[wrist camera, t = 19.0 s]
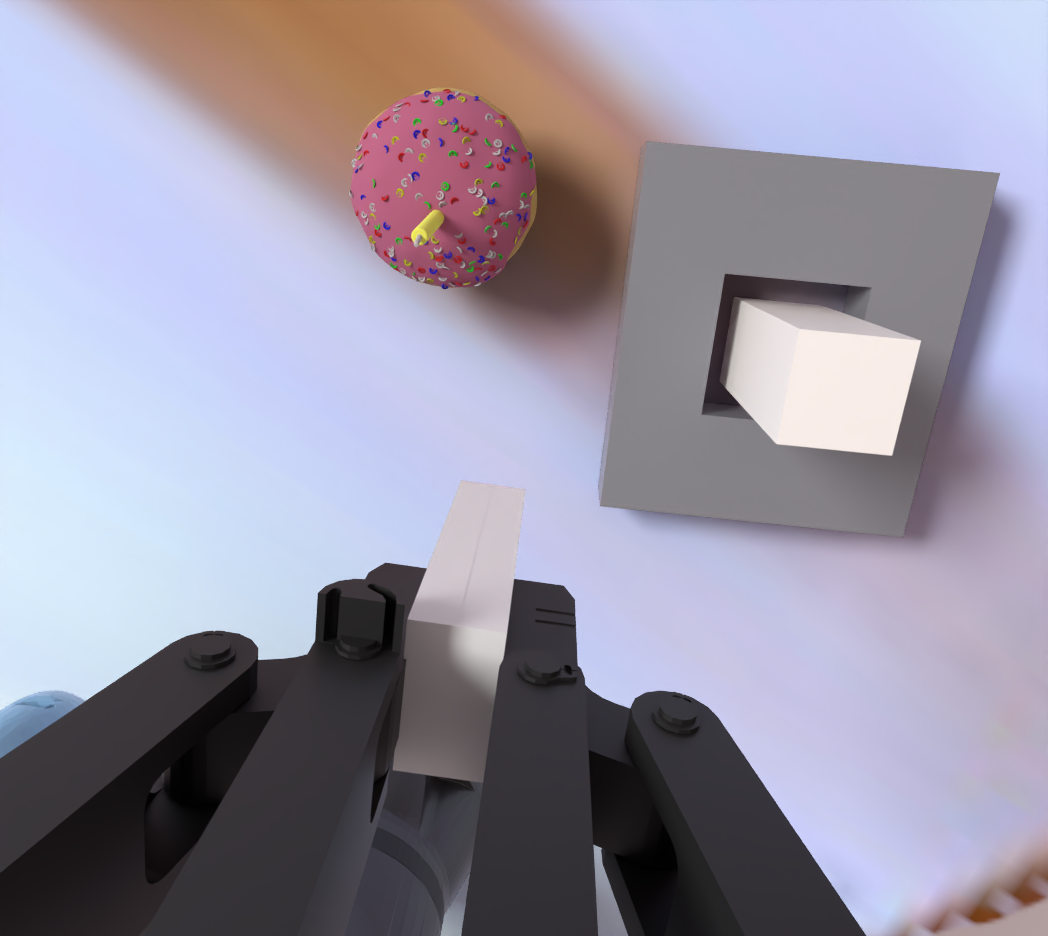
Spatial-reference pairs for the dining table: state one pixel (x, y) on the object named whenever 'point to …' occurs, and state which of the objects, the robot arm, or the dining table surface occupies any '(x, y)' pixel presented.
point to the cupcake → (444, 187)
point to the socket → (794, 254)
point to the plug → (818, 375)
